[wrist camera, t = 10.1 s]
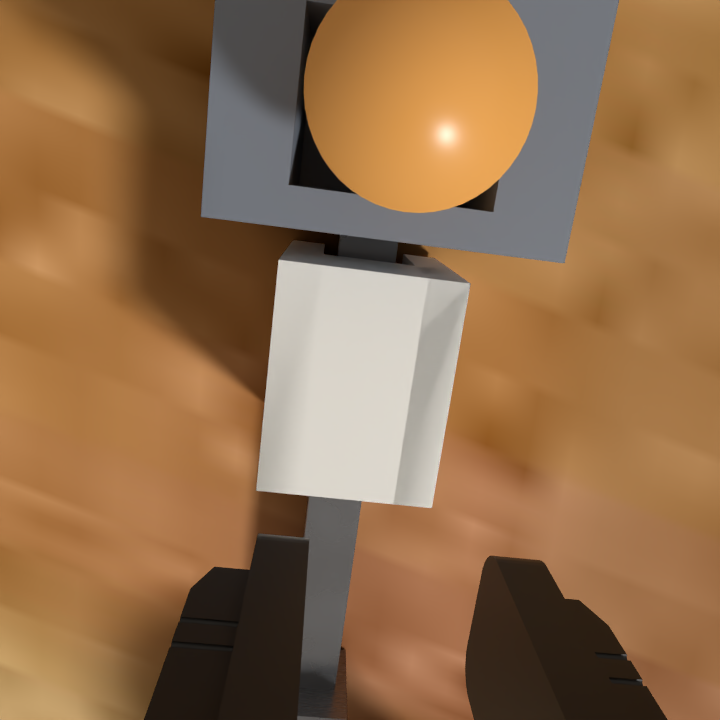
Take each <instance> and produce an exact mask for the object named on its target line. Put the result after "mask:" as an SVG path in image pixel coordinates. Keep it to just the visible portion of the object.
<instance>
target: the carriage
mask: <svg viewBox="0 0 720 720" xmlns="http://www.w3.org/2000/svg"><path fill="white" fill-rule="evenodd" d="M324 248H325V244H321V243H313V242H305V241H297V240H293V241H292V242H291V244H290V245H289V246H288V248H287V249H286V250H285V252H284V253H283V254H282V256H281V257H280V258H279V261H278V271H277V281H276V292H275V302H274V312H273V323H272V333H271V343H270V354H269V364H268V374H267V385H266V395H265V405H264V416H263V426H262V436H261V447H260V457H259V467H258V478H257V488H256V491H265V492H275V493H285V494H295V495H305V496H315V497H325V498H335V499H346V500H356V501H366V502H376V503H386V504H396V505H406V506H416V507H426V508H432V503H433V498H434V492H435V486H436V480H437V474H438V469H439V463H440V457H441V451H442V445H443V440H444V434H445V428H446V422H447V417H448V411H449V405H450V399H451V393H452V388H453V382H454V376H455V370H456V364H457V359H458V353H459V347H460V341H461V335H462V330H463V324H464V318H465V312H466V307H467V301H468V295H469V289H470V283H469V282H467V281H466V280H465V279H463V278H462V277H460V276H459V275H458V274H456V273H455V272H453V271H452V270H451V269H449V268H448V267H446V266H445V265H443V264H442V263H441V262H439V261H438V260H436V259H435V258H431V257H423V256H415V255H407V254H403V259H402V264H398V263H390V262H382V261H374V260H366V259H358V258H350V257H342V256H334V255H326V254H324Z"/></svg>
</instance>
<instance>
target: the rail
mask: <svg viewBox="0 0 720 720" xmlns="http://www.w3.org/2000/svg"><path fill="white" fill-rule="evenodd" d="M397 248H398V242H394V241H387V240H379V239H371V238H363V237H355V236H348V235H340V234H339V241H338V250H337V256H342V257H350V258H358V259H366V260H374V261H382V262H390V263H395V262H396V255H397ZM360 508H361V501H356V500H346V499H335V498H325V497H315V496H308V502H307V510H306V518H305V527H304V535H303V538H309V553H308V568H307V583H306V597H305V612H304V627H303V642H302V657H301V672H300V686H299V701H298V716H297V720H347V691H346V653H345V650H342V649H341V642H342V635H343V628H344V621H345V613H346V606H347V599H348V592H349V585H350V578H351V571H352V564H353V557H354V550H355V543H356V536H357V529H358V522H359V515H360Z"/></svg>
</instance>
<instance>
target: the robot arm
mask: <svg viewBox="0 0 720 720" xmlns="http://www.w3.org/2000/svg"><path fill="white" fill-rule="evenodd" d="M308 553H309V538H301V537H290V536H280V535H269V534H258V536H257V540H256V545H255V550H254V554H253V559H252V563H251V568H250V570H244V569H233V568H222V567H214V568H213V569H211V570H210V571H209V572H208V573H207V574H206V575H205V576H204V577H203V578H202V579H201V580H199V581H198V582H197V583H196V584H195V585H194V586H193V587H192V588H191V589H190V592H189V594H188V597H187V600H186V603H185V606H184V608H183V611H182V614H181V618H180V622H179V623H178V625H177V628H176V631H175V634H174V637H173V639H172V645H171V647H170V648H169V651H168V654H167V656H166V659H165V662H164V665H163V668H162V670H161V673H160V676H159V679H158V682H157V685H156V687H155V690H154V693H153V696H152V699H151V702H150V704H149V707H148V710H147V713H146V716H145V718H144V720H297V716H298V701H299V686H300V672H301V657H302V642H303V627H304V612H305V597H306V583H307V568H308ZM465 672H466V687H467V694H468V698H469V702H470V706H471V710H472V713H473V717H474V720H667V718H666V717H665V715H664V713H663V712H662V710H661V709H660V707H659V705H658V704H657V702H656V701H655V699H654V697H653V696H652V694H651V693H650V691H649V689H648V688H647V686H643V684H642V678H641V677H640V675H639V673H638V672H637V670H636V669H635V667H634V666H633V664H632V662H631V661H628V660H627V654H626V653H625V651H624V650H623V648H622V646H621V645H620V643H619V642H618V640H617V638H616V637H615V635H614V634H613V632H612V630H611V629H610V627H609V626H608V625H607V624H606V623H605V622H604V621H603V620H601V619H600V618H599V617H598V616H597V615H596V614H594V613H593V612H592V611H591V610H590V609H589V608H588V607H586V606H585V605H584V604H583V603H582V602H581V601H579V600H572V599H564V597H563V595H562V593H561V591H560V590H559V588H558V586H557V584H556V583H555V581H554V579H553V577H552V575H551V574H550V572H549V570H548V568H547V566H546V565H545V564H544V562H542V561H540V560H531V559H520V558H510V557H499V556H489V557H488V558H487V559H486V561H485V564H484V567H483V570H482V575H481V580H480V585H479V590H478V595H477V600H476V605H475V610H474V615H473V620H472V625H471V630H470V635H469V640H468V645H467V651H466V666H465Z"/></svg>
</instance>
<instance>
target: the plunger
mask: <svg viewBox="0 0 720 720" xmlns="http://www.w3.org/2000/svg"><path fill="white" fill-rule="evenodd" d="M537 96H538V73H537V65H536V58H535V54H534V50H533V46H532V43H531V40H530V38H529V35H528V32H527V30H526V28H525V26H524V24H523V22H522V20H521V18H520V17H519V15H518V13H517V12H516V10H515V9H514V8H513V6H512V5H511V4H510V2H509V1H508V0H337V1H336V2H335V3H334V5H333V6H332V7H331V8H330V10H329V11H328V12H327V14H326V15H325V17H324V19H323V20H322V22H321V24H320V25H319V27H318V29H317V32H316V34H315V36H314V39H313V41H312V44H311V47H310V50H309V54H308V57H307V62H306V68H305V74H304V102H305V111H306V116H307V120H308V125H309V128H310V131H311V134H312V137H313V140H314V142H315V144H316V146H317V148H318V150H319V152H320V154H321V156H322V158H323V159H324V161H325V162H326V164H327V165H328V167H329V168H330V169H331V171H332V172H333V173H334V174H335V175H336V176H337V178H338V179H339V180H340V181H341V182H342V183H344V184H345V185H346V186H347V187H348V188H349V189H350V190H352V191H353V192H355V193H356V194H358V195H359V196H361V197H362V198H364V199H366V200H368V201H370V202H372V203H374V204H376V205H379V206H382V207H385V208H388V209H392V210H396V211H401V212H411V213H427V212H436V211H441V210H446V209H450V208H452V207H455V206H458V205H461V204H463V203H465V202H467V201H469V200H471V199H473V198H475V197H477V196H478V195H480V194H481V193H483V192H484V191H486V190H487V189H488V188H490V187H491V186H492V185H493V184H494V183H495V182H496V181H498V180H499V179H500V178H501V177H502V175H503V174H504V173H505V172H506V171H507V170H508V169H509V168H510V166H511V165H512V163H513V162H514V160H515V159H516V157H517V156H518V155H519V153H520V151H521V149H522V147H523V145H524V143H525V141H526V139H527V137H528V134H529V131H530V129H531V126H532V123H533V119H534V115H535V110H536V104H537Z"/></svg>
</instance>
